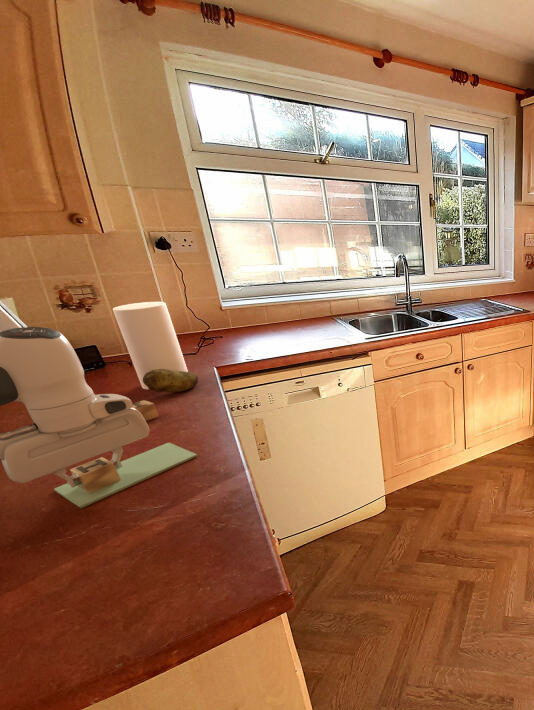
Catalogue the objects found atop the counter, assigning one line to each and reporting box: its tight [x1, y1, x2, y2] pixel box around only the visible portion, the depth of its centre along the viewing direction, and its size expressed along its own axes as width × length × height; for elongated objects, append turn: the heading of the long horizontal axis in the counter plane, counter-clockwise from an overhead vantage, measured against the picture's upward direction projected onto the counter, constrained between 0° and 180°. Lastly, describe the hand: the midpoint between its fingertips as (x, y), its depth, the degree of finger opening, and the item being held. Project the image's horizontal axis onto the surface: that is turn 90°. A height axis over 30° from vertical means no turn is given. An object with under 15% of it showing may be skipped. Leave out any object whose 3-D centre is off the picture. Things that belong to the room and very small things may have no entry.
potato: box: [143, 369, 200, 394], centre depth 128 cm, size 8×13×8 cm, turn 130°
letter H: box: [69, 456, 121, 493], centre depth 83 cm, size 5×5×4 cm
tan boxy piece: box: [132, 399, 159, 422], centre depth 111 cm, size 5×5×4 cm
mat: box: [53, 442, 198, 509], centre depth 88 cm, size 20×12×1 cm, turn 152°
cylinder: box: [112, 301, 189, 391], centre depth 132 cm, size 12×12×25 cm
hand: (97, 476), depth 83 cm, fingers closed on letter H, 5 cm apart
